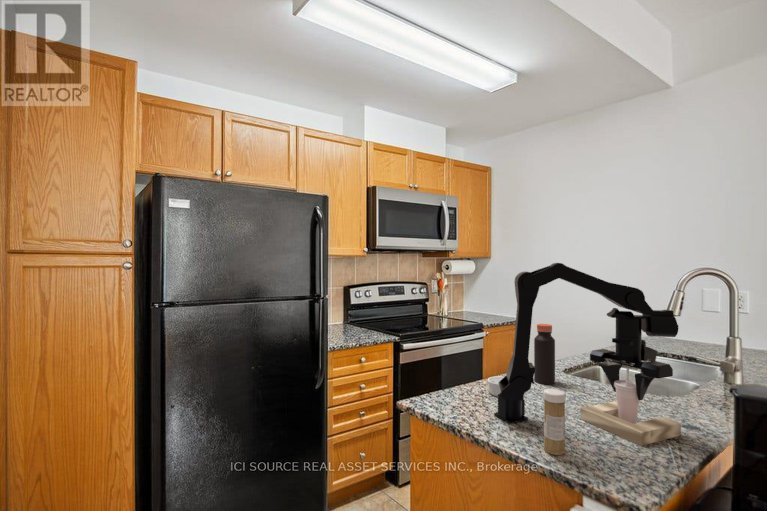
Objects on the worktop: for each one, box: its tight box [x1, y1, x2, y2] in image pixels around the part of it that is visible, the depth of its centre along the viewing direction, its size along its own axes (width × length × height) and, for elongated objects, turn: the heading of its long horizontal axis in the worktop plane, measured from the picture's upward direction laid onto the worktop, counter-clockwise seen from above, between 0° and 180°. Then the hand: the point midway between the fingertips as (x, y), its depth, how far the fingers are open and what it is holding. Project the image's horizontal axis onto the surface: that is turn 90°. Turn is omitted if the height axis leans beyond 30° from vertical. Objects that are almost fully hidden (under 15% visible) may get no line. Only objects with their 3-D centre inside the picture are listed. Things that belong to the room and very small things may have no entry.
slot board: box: [579, 400, 682, 447], centre depth 103 cm, size 14×17×3 cm
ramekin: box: [487, 376, 505, 398], centre depth 129 cm, size 9×9×4 cm
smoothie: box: [614, 366, 641, 424], centre depth 104 cm, size 6×6×14 cm
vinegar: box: [533, 323, 556, 385], centre depth 142 cm, size 7×7×20 cm
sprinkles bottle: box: [542, 388, 567, 456], centre depth 90 cm, size 5×5×13 cm
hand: (628, 396), depth 104 cm, fingers closed on smoothie, 6 cm apart
